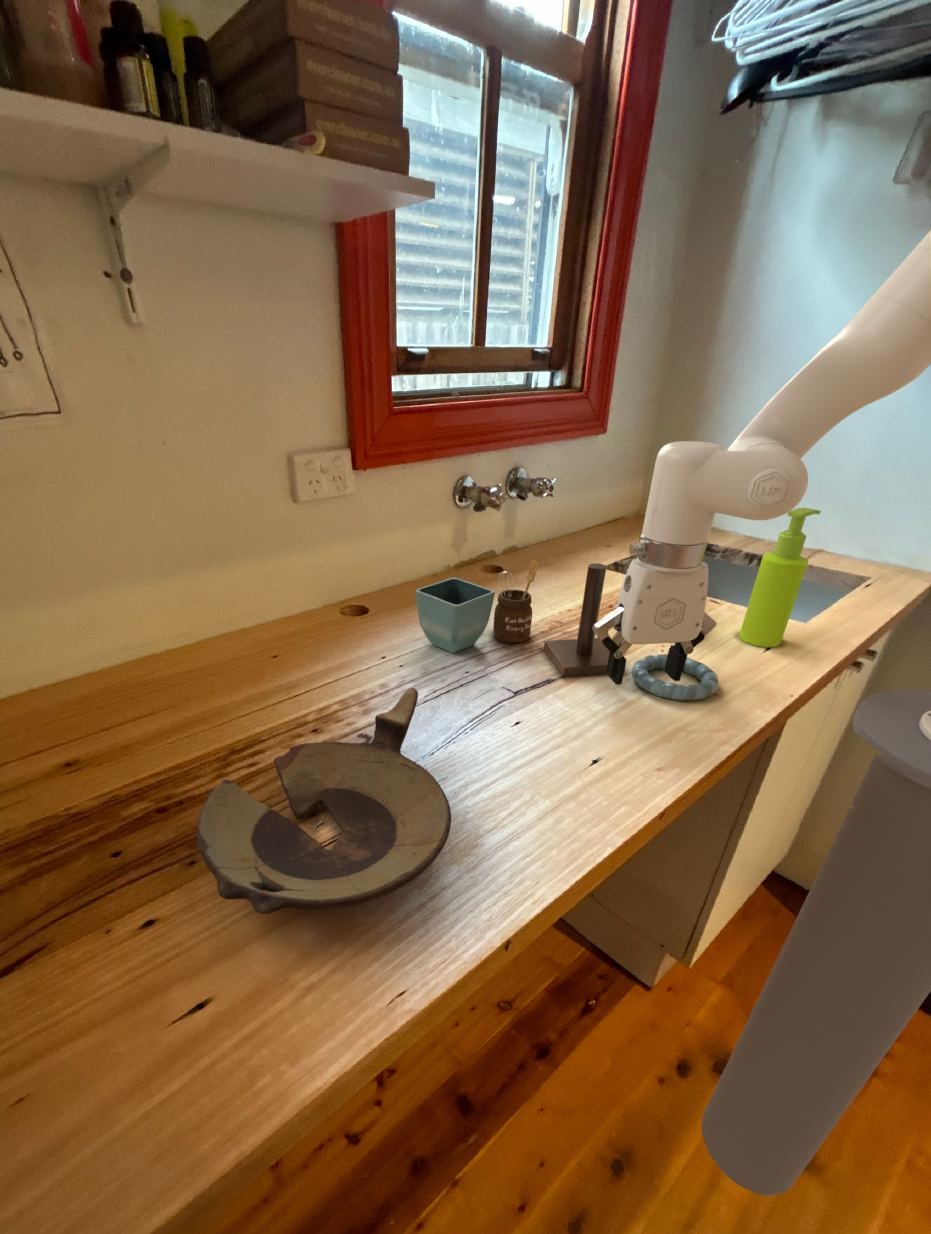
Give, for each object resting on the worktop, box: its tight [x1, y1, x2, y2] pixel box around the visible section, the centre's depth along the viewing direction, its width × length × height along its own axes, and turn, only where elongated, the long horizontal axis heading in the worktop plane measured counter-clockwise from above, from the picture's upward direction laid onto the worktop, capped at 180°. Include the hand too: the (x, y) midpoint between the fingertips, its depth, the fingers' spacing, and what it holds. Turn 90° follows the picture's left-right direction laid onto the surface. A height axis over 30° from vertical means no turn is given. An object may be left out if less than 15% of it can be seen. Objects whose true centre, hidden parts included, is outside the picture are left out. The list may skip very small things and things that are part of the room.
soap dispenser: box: [738, 507, 822, 648], centre depth 91 cm, size 6×7×20 cm
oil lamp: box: [196, 687, 452, 915], centre depth 57 cm, size 22×30×8 cm
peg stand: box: [543, 562, 610, 678], centre depth 87 cm, size 9×9×14 cm
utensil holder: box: [492, 559, 540, 644], centre depth 95 cm, size 6×6×12 cm
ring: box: [631, 653, 719, 702], centre depth 84 cm, size 11×11×2 cm
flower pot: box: [415, 577, 496, 654], centre depth 93 cm, size 9×9×9 cm
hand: (643, 677), depth 83 cm, fingers open, 7 cm apart
